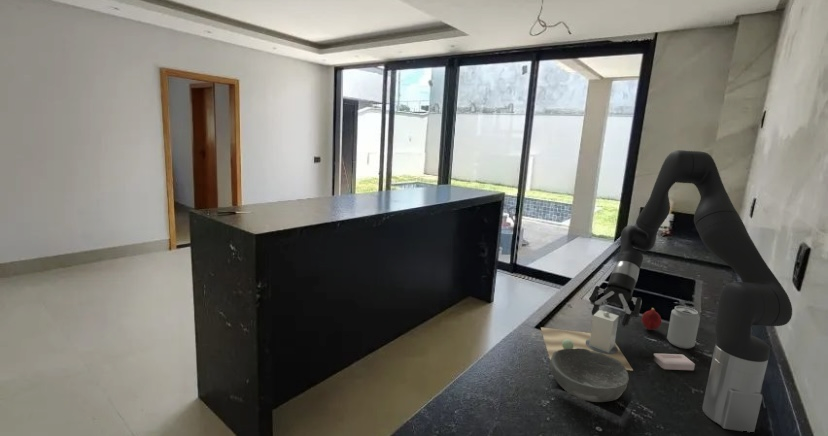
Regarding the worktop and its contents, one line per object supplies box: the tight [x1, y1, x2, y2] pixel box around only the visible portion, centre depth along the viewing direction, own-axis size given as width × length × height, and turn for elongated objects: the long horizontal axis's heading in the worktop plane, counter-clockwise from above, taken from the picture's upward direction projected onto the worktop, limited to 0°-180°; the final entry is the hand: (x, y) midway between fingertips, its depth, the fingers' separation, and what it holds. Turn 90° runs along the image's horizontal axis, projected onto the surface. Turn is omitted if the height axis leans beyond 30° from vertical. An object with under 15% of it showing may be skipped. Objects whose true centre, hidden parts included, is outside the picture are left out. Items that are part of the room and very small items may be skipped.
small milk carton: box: [589, 309, 620, 353], centre depth 116 cm, size 6×6×11 cm
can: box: [666, 305, 701, 349], centre depth 122 cm, size 8×8×12 cm
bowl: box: [550, 348, 630, 403], centre depth 96 cm, size 18×18×8 cm
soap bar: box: [652, 353, 696, 371], centre depth 111 cm, size 5×9×2 cm, turn 90°
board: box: [540, 326, 634, 372], centre depth 117 cm, size 20×22×2 cm
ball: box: [562, 339, 574, 349], centre depth 114 cm, size 3×3×3 cm
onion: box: [641, 307, 662, 331], centre depth 132 cm, size 6×6×8 cm
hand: (608, 321), depth 120 cm, fingers open, 8 cm apart
